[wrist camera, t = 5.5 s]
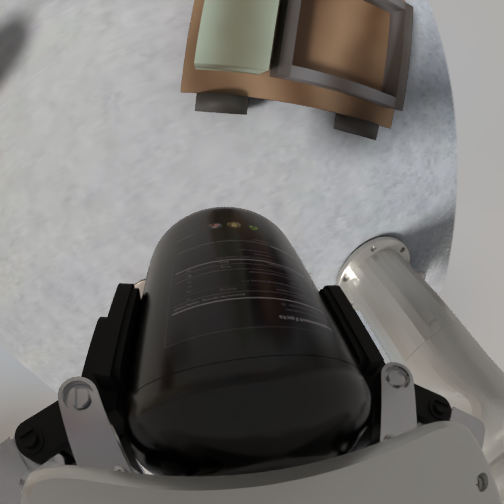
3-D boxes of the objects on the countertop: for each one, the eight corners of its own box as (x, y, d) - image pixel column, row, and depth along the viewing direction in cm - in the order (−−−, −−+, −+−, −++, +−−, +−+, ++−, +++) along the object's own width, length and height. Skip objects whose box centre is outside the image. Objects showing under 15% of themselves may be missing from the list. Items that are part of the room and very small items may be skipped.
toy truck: (388, -4, 16) (429, -15, 10) (370, 137, 26) (412, 152, 20) (210, -53, 12) (215, -88, 6) (181, 109, 22) (173, 112, 16)
